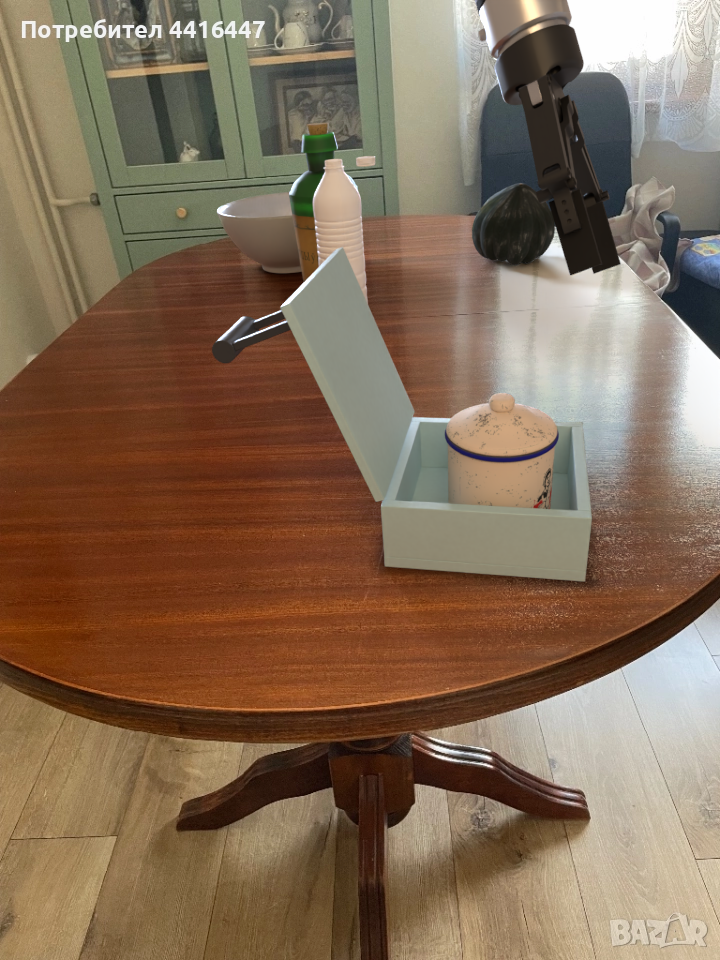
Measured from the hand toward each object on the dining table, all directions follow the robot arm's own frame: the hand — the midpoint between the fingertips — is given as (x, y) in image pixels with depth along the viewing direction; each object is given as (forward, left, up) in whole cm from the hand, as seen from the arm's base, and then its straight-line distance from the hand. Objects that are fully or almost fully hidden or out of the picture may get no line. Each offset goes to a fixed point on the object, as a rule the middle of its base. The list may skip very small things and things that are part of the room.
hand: (597, 269), depth 69 cm
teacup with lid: (+8, +18, -17) cm, 26 cm away
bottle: (+38, -41, -18) cm, 59 cm away
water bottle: (+31, -26, -18) cm, 44 cm away
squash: (+10, -71, -18) cm, 74 cm away
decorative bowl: (+54, -70, -18) cm, 90 cm away
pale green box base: (+9, +18, -17) cm, 26 cm away
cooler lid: (+19, +18, -3) cm, 26 cm away
